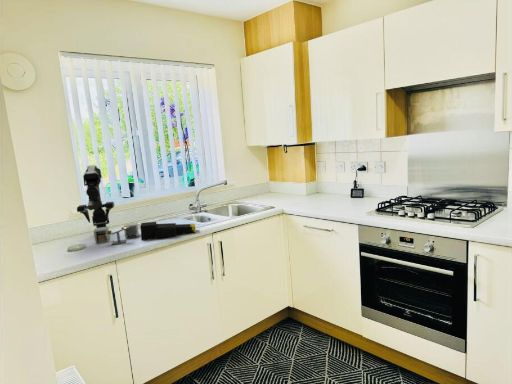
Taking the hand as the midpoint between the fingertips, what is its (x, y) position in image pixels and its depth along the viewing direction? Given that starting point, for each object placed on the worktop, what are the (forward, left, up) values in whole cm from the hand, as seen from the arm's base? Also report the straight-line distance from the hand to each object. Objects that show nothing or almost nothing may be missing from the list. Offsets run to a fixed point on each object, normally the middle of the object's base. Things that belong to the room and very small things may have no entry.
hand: (98, 221), depth 206 cm
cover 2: (-2, +17, -12) cm, 21 cm away
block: (-1, +1, -12) cm, 12 cm away
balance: (+9, +11, -12) cm, 18 cm away
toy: (+7, +38, -13) cm, 40 cm away
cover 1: (-1, +1, -12) cm, 12 cm away
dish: (+8, -11, -12) cm, 18 cm away
